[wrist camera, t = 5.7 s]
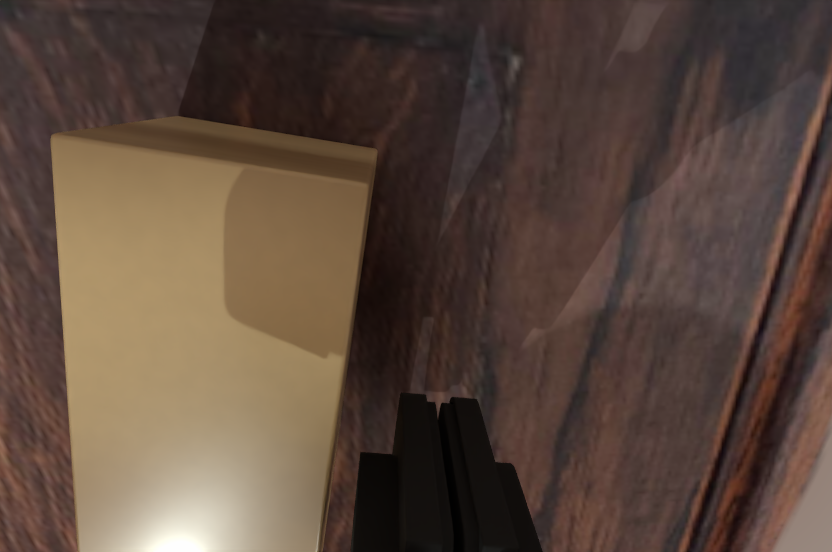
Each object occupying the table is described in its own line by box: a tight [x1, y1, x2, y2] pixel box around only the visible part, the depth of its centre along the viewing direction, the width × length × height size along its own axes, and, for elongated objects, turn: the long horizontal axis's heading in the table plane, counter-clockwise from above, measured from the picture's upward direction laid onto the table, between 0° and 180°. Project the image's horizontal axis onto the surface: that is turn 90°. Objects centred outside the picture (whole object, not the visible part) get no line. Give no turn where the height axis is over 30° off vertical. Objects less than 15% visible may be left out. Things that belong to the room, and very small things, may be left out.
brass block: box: [51, 116, 378, 552], centre depth 11 cm, size 12×4×4 cm, turn 170°
